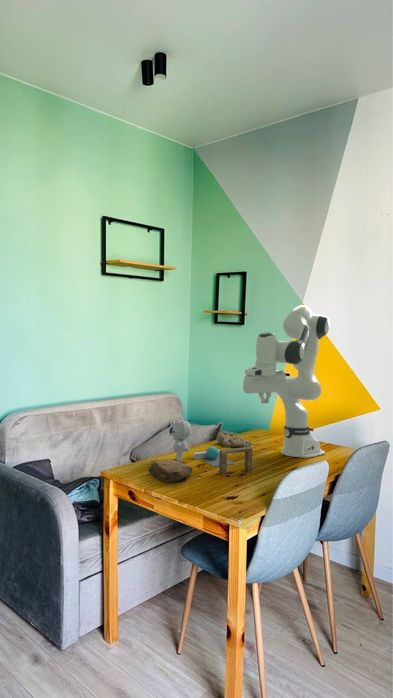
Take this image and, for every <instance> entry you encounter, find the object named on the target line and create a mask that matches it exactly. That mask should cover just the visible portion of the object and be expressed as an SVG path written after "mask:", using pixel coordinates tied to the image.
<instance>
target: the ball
mask: <svg viewBox="0 0 393 698" xmlns="http://www.w3.org/2000/svg"><path fill="white" fill-rule="evenodd" d="M218 450H219V449H218V448H217V447H215V446H209V447H208V448H207V449H206V455H207V457H208V458H207V459H216V458H219V457H218V454H219V452H218Z"/></svg>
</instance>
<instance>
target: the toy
mask: <svg viewBox="0 0 393 698" xmlns="http://www.w3.org/2000/svg"><path fill="white" fill-rule="evenodd" d="M191 433H192V425H191V424H190V422H189V421H187V420H184V417H183V416H180V417H179V420H176V421H175V422H174V423H173V424H172V426H171V427H170V428H169V435H170V436H171V437H173V438H172V440H173V441H174V443H173V446H172V450H173V451H174V452H176V455H175V459H176V461H178V462H181V463H182V461H183V453H184V452H187V453H188V452H189V451H190V447H188V446H187V445H188V444H187V442H186V439H187V438H188V437H189V436H190V435H191Z"/></svg>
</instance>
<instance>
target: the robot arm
mask: <svg viewBox="0 0 393 698" xmlns="http://www.w3.org/2000/svg"><path fill="white" fill-rule="evenodd" d="M282 323H283V324H282V328H283V330H284V333H285V335H287V336H288V337H290V338H292V339H296V340H278V339H277V336H276V334H275V333H273V332H262V333H259V334H258V335H257V338H256V344H255V345H256V346H255V355H256V360H255V363H254V364H255V365H254V366H252V367H250V368H247V369H245V371H244V374H245V376H244V377H243V384H242V390H243V392H244V393H245V394H258V396H259V399H260V403H261V404H269V403H270V398H271V397H272V393H275V394H277V395H278V396H279V397H280V399H281V402H282V404H283V408H284V414H285V416H284V418H285V419H284V420H285V422H284V427H283V432H284V433H283V434H284V438H283V444H282V448H281V452H280V453H281V454H282V455H285V456H288V457H293V458H295V457H296V458H304V459H309V458H313V457H318V455H319V456H322V454H323V455H325V454H326V452H325V450H323V449H321V443H320V441H319V440H318V439H317V438H316V437H315V436H313V435H312V434H311V432H314V431H315V428H314V427H313V426H308V424H309V423H308V418H309V414H308V413H309V412H308V410H307V409H306V407H304V406H303V404H302V402H301V400H302V401H315V400H316V401H317V400H318V399H319V398H320V397H321V394H322V386H321V384H320V381H318V379H317V377H316V374H315V365H316V359H317V355H318V352H319V344H320V341H319V340H322V339H323V337H325V336H326V335H327V334H328V332H329V330H330V326H331V324H330V319H329V317H328V316H326V315H323V314H316V313H313V312H312V310H311V308H310V307H308V306H307V305H299V306H296V307H295V308H293V309H292V310H291V311H290V312H289V313H288V314H287V316H286V317H285V319H284V320H283V322H282ZM278 363H280V364H289V365H290V364H291V365H292V367H293V368H294V369H296V370H297V377H296V376H291V375H290V376H289V375H286V372H285V371H284V370H277V364H278ZM265 395H266V396H265ZM264 396H265V397H264Z"/></svg>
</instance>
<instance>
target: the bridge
mask: <svg viewBox="0 0 393 698" xmlns="http://www.w3.org/2000/svg"><path fill="white" fill-rule="evenodd" d="M219 450H220V453H219V457H218V458H219V466H218V468H219V469H218V472H219V473H220V474H222V475H225V474H227V472H228V471H227V469H228V468H227V466H228V465H227V459H228V455H230V454H241V453H244V470H246V471H248V472H249V470H250V471H253V447H252V448H250V447H244V448H242V447H234V448H227V449H219Z"/></svg>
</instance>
